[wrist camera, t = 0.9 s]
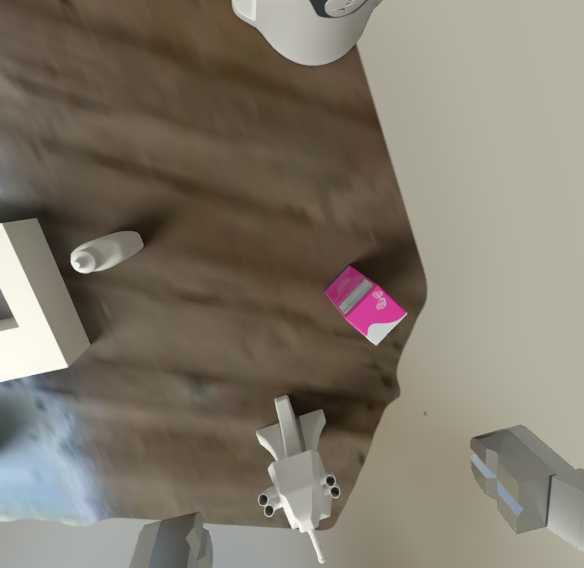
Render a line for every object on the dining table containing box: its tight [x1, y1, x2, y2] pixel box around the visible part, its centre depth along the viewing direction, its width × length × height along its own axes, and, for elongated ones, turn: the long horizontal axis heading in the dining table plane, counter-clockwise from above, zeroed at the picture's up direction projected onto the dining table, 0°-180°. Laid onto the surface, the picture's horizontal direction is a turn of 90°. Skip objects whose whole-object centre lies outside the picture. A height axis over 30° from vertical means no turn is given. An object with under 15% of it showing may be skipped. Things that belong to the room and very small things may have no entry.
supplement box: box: [324, 265, 407, 345], centre depth 43 cm, size 6×6×12 cm
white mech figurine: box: [257, 395, 340, 563], centre depth 46 cm, size 12×13×18 cm
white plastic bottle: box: [71, 231, 144, 273], centre depth 37 cm, size 4×6×12 cm
